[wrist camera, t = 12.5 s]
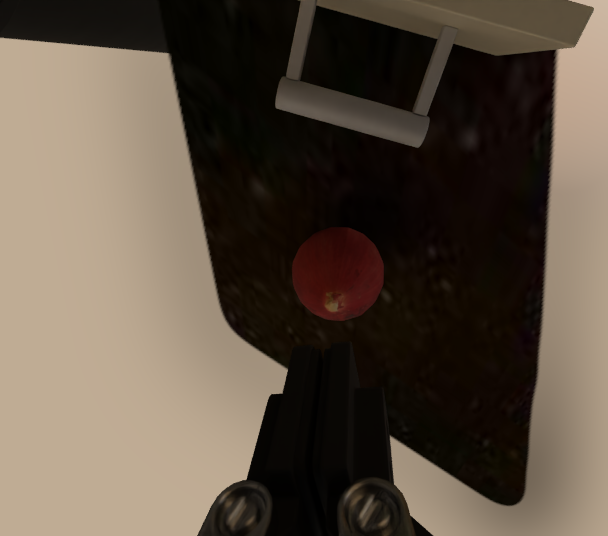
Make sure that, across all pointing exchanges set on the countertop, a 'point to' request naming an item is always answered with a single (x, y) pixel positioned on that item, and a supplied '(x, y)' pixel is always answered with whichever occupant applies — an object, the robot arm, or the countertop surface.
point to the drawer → (448, 30)
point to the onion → (338, 273)
